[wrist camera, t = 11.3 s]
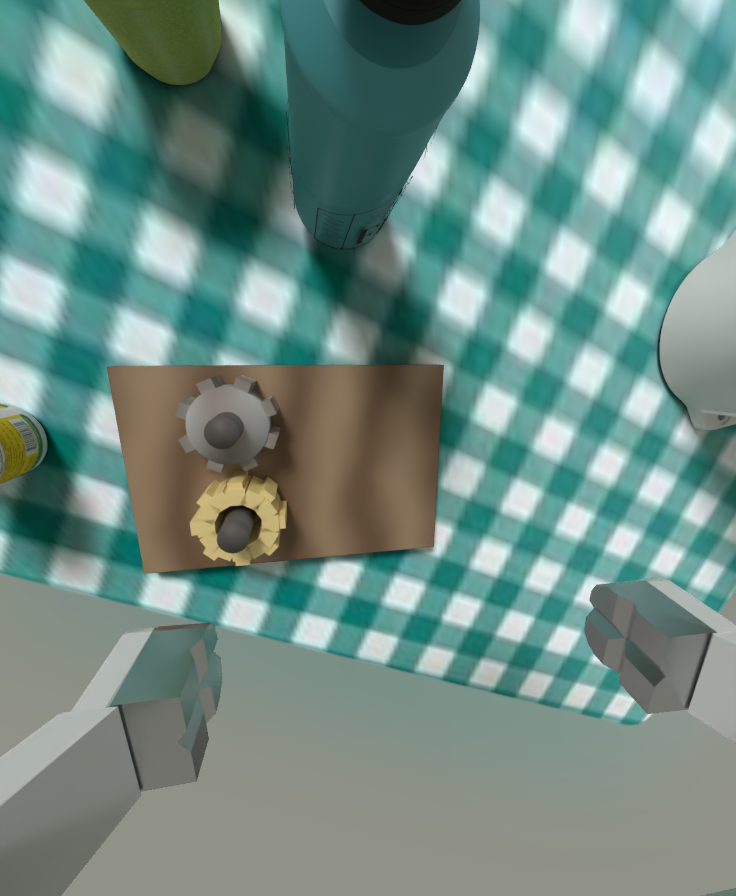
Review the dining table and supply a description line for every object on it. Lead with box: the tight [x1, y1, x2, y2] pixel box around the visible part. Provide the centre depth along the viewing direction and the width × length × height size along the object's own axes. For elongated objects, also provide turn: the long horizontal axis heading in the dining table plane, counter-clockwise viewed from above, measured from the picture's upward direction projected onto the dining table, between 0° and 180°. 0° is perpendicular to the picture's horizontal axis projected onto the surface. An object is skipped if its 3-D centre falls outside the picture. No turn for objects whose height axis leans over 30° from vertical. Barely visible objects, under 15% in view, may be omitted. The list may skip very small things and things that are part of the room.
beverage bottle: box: [280, 0, 480, 249], centre depth 16 cm, size 6×7×20 cm
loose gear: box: [190, 470, 287, 566], centre depth 27 cm, size 6×6×3 cm
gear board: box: [107, 365, 444, 574], centre depth 27 cm, size 24×16×6 cm, turn 90°
